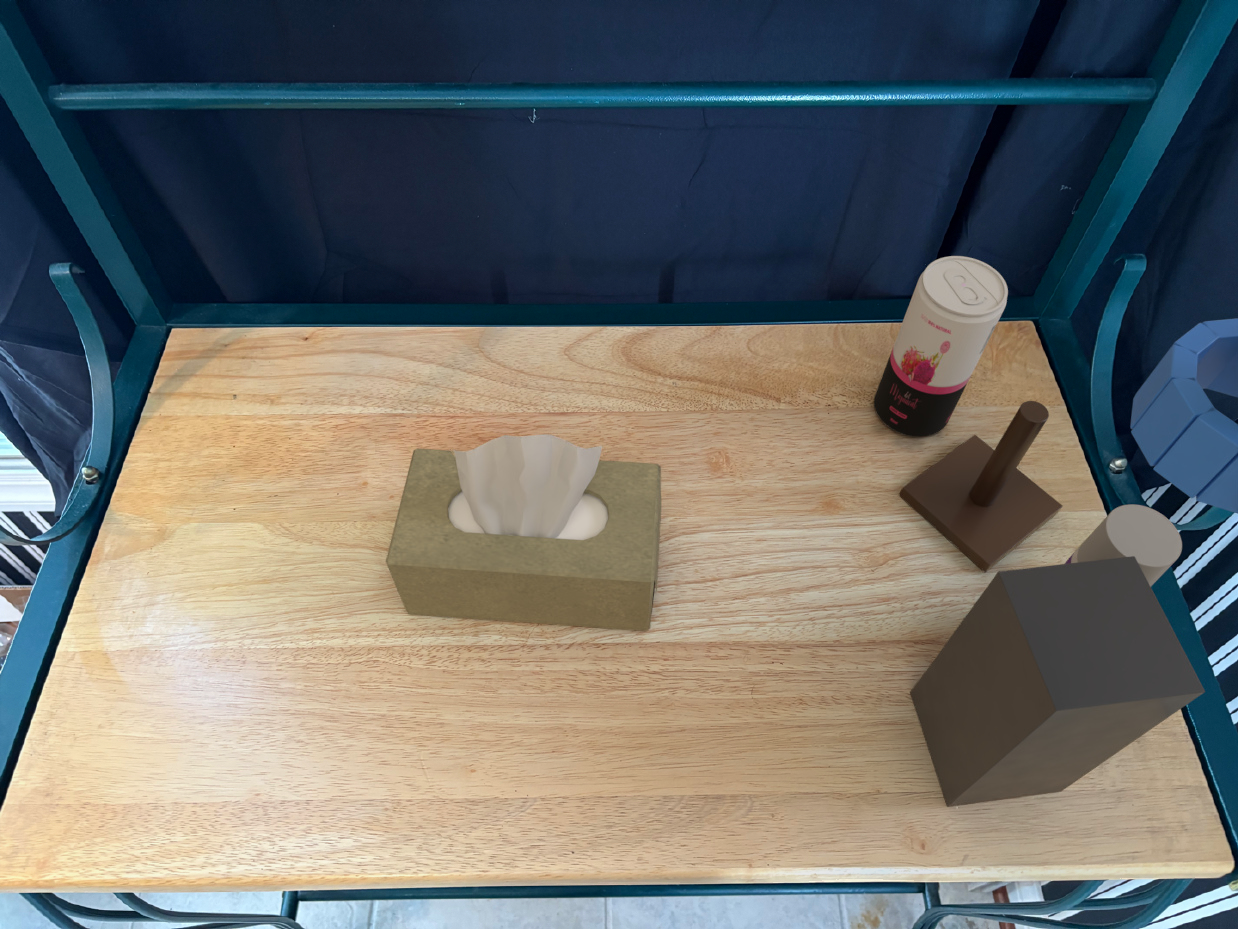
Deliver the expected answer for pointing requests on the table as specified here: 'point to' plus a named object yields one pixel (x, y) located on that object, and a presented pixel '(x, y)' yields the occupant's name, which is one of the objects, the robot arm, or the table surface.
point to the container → (1133, 540)
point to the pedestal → (1050, 680)
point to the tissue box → (528, 535)
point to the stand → (986, 492)
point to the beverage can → (939, 344)
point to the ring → (1193, 415)
